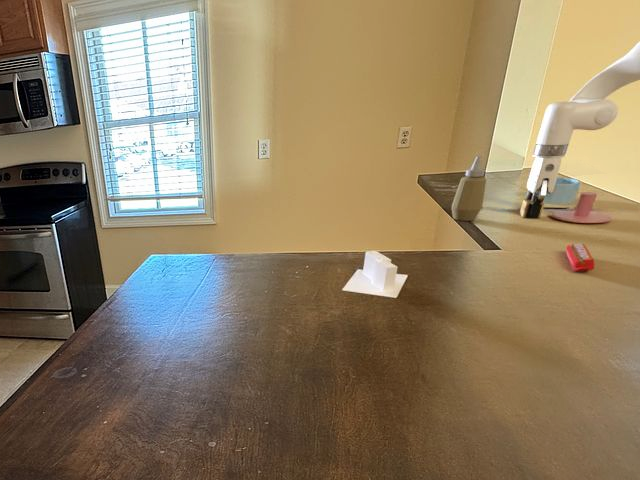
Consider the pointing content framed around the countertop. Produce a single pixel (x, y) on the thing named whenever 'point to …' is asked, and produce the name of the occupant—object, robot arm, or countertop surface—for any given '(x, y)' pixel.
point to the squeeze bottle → (470, 193)
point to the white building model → (376, 277)
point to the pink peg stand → (582, 211)
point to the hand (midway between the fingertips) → (529, 214)
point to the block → (525, 207)
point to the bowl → (562, 192)
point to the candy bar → (579, 257)
